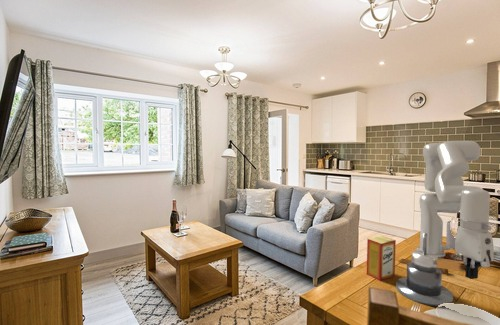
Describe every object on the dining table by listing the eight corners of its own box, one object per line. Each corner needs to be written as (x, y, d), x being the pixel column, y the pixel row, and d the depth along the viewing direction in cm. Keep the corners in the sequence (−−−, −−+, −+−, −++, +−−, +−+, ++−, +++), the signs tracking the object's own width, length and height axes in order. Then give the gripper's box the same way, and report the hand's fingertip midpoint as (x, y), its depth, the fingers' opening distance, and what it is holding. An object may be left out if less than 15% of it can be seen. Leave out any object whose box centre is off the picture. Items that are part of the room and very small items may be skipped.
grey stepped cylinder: (426, 279, 110) (427, 257, 109) (466, 304, 92) (467, 278, 91) (386, 281, 108) (386, 259, 107) (418, 308, 90) (419, 280, 89)
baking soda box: (379, 280, 109) (381, 242, 108) (366, 274, 114) (367, 238, 114) (394, 275, 113) (395, 239, 112) (380, 269, 119) (381, 235, 118)
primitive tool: (398, 262, 127) (398, 255, 127) (401, 259, 131) (401, 252, 131) (447, 276, 113) (447, 268, 113) (449, 272, 117) (449, 265, 117)
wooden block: (413, 269, 97) (414, 235, 97) (410, 261, 105) (411, 229, 104) (472, 279, 90) (474, 242, 89) (464, 269, 97) (466, 235, 97)
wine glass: (457, 244, 151) (458, 218, 150) (473, 250, 141) (473, 223, 141) (441, 244, 151) (442, 218, 150) (455, 251, 141) (456, 223, 140)
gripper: (507, 231, 83) (504, 288, 84) (462, 219, 98) (460, 267, 99) (487, 232, 82) (484, 289, 83) (444, 219, 96) (442, 268, 97)
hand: (471, 277), depth 91 cm, fingers closed
